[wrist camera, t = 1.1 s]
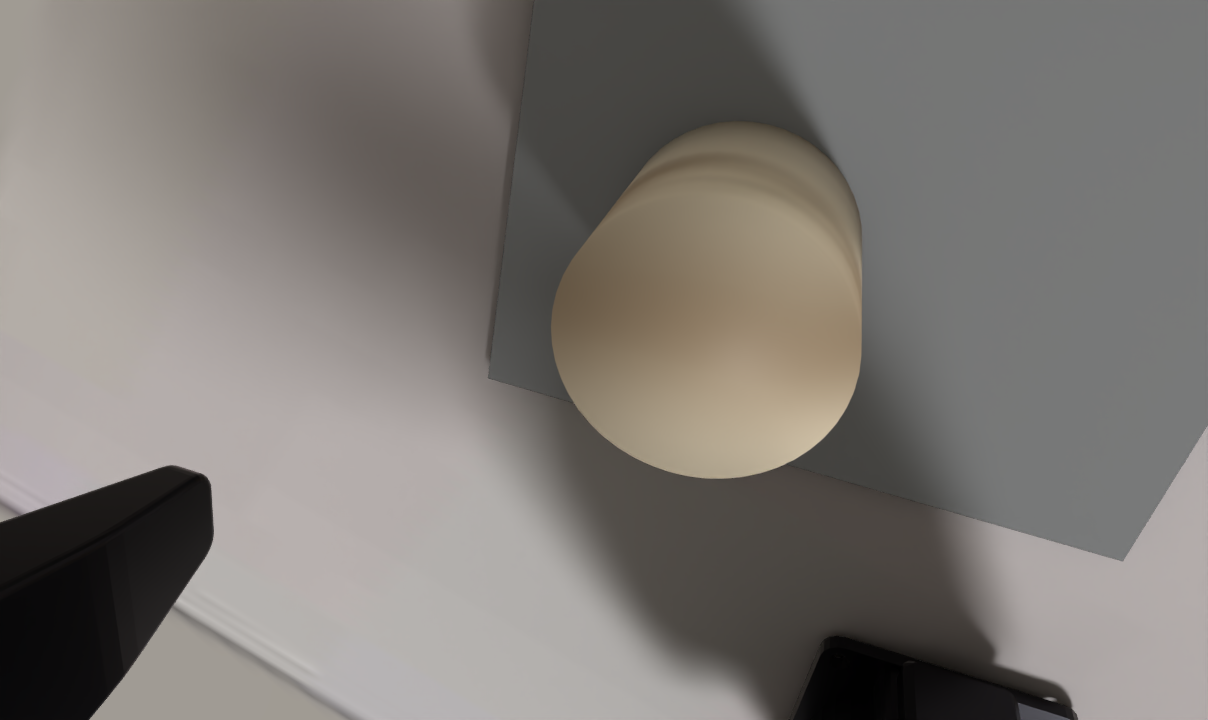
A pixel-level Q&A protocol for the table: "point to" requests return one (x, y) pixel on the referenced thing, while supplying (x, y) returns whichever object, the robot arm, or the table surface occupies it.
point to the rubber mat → (928, 225)
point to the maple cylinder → (717, 305)
